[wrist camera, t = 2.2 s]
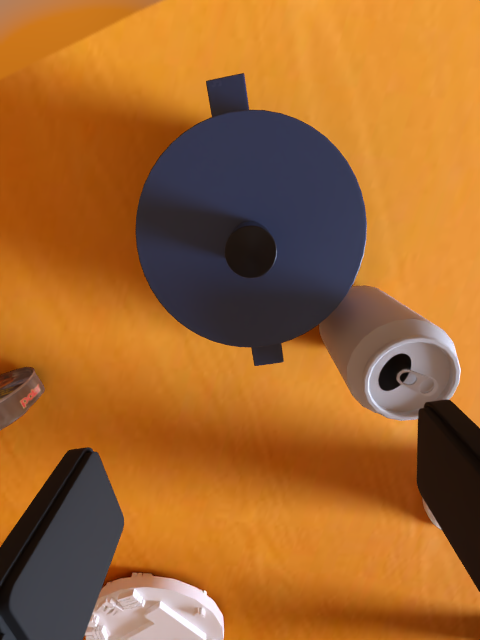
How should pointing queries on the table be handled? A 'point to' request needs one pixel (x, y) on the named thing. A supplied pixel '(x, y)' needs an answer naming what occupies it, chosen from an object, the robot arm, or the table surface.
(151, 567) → the table surface
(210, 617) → the embossed medallion
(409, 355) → the can
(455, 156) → the table surface
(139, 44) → the table surface
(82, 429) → the table surface
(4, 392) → the tin
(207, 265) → the pot lid
